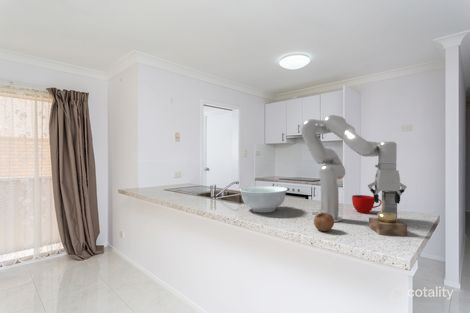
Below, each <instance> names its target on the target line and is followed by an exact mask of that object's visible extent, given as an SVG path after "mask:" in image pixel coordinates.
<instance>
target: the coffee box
mask: <svg viewBox="0 0 470 313" xmlns="http://www.w3.org/2000/svg"><path fill="white" fill-rule="evenodd" d="M395 194H396V193H395V192H394V191H381V202H382V203H381V212H389V213H394V214H396V219H397V220H398V203H395Z"/></svg>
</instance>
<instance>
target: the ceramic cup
mask: <svg viewBox="0 0 470 313" xmlns="http://www.w3.org/2000/svg"><path fill="white" fill-rule="evenodd" d="M351 202H352V206H353V207H354V209H355V211H357V213H360V214H369V213H370V212H371V211H372V210H373V209H375V208H378V207H380V206H382V199H379V202H380V203H378V205H375V203H376V202H374V196H371V195H363V194H353V195H352V196H351Z"/></svg>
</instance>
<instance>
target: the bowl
mask: <svg viewBox="0 0 470 313" xmlns="http://www.w3.org/2000/svg"><path fill="white" fill-rule="evenodd" d="M239 192H240V193H241V199H242V201H243V203H244V204H245V205H246V206H248V207H249V208H251V210H252V212H255V213H262V214H263V213H266V214H267V213H273V212H275V211H276V209H277V208H279V207H280V206H281V205H282V204H283V203H284V201H285V198H286V194H287V192H288V188H287V187H282V186H271V185H254V186H253V185H252V186H243V187H240V188H239Z"/></svg>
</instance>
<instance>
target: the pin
mask: <svg viewBox="0 0 470 313" xmlns="http://www.w3.org/2000/svg"><path fill="white" fill-rule="evenodd" d="M377 218H378V221H380V222H385V223H396V214H394V213H389V212H382V211H380V212H377Z"/></svg>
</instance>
